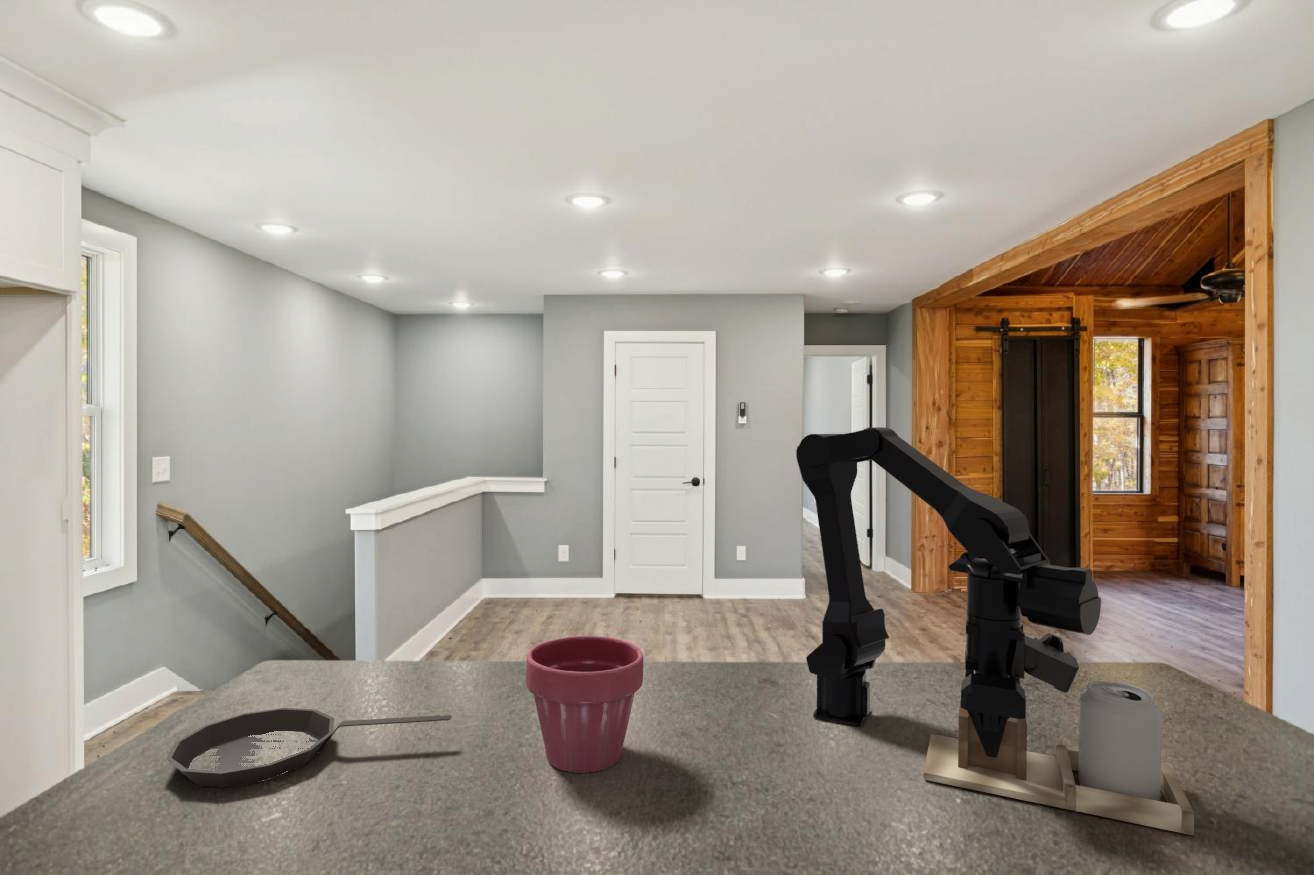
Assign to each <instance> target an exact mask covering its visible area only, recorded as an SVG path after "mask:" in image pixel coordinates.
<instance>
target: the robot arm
mask: <svg viewBox="0 0 1314 875" xmlns="http://www.w3.org/2000/svg"><path fill="white" fill-rule="evenodd" d="M795 454H796V455H795V456H796V462H797V465H798V468H799V472H800V474H801V475H800V476H801V478H802V481H803V483H804V484H805V486H806V487H807V488H808V490H809V491H810V493H811V494H812V496H813V497H814V498H813V499H814V502H815V506H816V512H817V513H816V514H817V522H818V528H819V534H820V535H819V536H820V542H821V548H822V549H821V550H822V556H823V563H824V570H825V577H826V585H827V592H828V604H827V607H826V610H825V614H824V616H823V620H822V624H821V625H822V626H821V627H822V629H821V632H822V634H821V635H822V637H821V643H820V644H819V645H818V646H817V647H815V649H814V650H813V651H811V652H810V653H809V654H808V655H807V656H806V658H805V660H806V664H807V667H808V671H809V673H810V674H812V675H813V674H814V675H815V676H816V709H815V711H813V718H814V719H817V720H824V721H829V722H834V723H840V724H846V725H851V726H856V727H861V726H862V725H863V723H864V721H865V719H867V718H868V716H869V713H870V711H871V682H870V681H867V670H871V669H873V668H874V666H875V663H876V661H877V659H878V658H880V657H881V655H882V654H883V653H884V651H885V649H886V640H888V639H890V636H889V634H888V632H887V629H886V624H885V623H886V622H885V621H886V620H885V619H886V618H885V617H886V616H885V612H884V611H885V610H884V609H883V608H877V609H876V608H874V607H873V606H872V604H871V602H870V601H869V600H868V599H867V598H868V597H867V595H866V592H865V584H864V577H863V571H862V565H861V564H862V562H861V557H860V550H859V544H858V535H857V529H856V524H855V517H854V516H855V515H854V510H853V504H852V503H853V501H852V490H853V487H854V485H855V481H856V479H857V475H858V463H863V462H867V461H871V460H872V461H873V462H874V463H875V464H876V465H878V467H881V469H883V470H884V471H885V472H886V473H888V474H889V475H890V476H891V477H893V478H895V480H897V481H898V482H900V484H902V485H903V486H904V487H905V488H906V489H908V490H909V491H910V492H912V493H913V495H914V494H915V495H916V496H917V497H918V498H920V499H921V500H922V501H924V503H926V504H927V505H929V507H931V508H932V509H933V510H935V512H936V513H937V514H938V515H939V516H940V517H941V519H942V520H943V522H944V524H945V526H946V528H947V530H948V532H949V534H951V536H952V537H953V538H954V539H955V540H956V541H957V542H958V543H959V544H960V545H961V546H962V548H963V549H964V550H965V551H963V552H962V553H961V555H960V556H959V558H957V559H956V560H955V561H953V562H952V563H950V564H949V565H948V569H949V570H950V571H951V572H957V573H963V574H966V622H965V634H966V635H965V638H966V639H965V641H966V642H965V643H966V644H965V649H964V650H965V652H964V654H965V655H964V660H965V661H964V664H965V665H964V666H965V668H964V669H965V673H964V674H965V675H964V679H962V680H961V685H960V686H961V687H960V701H961V708H963V709H965V710H967V711H968V714H969V716H970V718H971V720H972V723H973V725H974V727H975V729H976V732H977V734H978V737H979V739H980V742H981V744H982V746H983V749H984V751H985V754H986V755H987V756H988V757H993V758H996V757H997V756H998V752H999V748H1000V745H1001V741H1002V737H1003V733H1004V730H1005V726H1006V723H1007V720H1008V719H1009V718H1016V719H1023V718H1026V719H1027V715H1026V714H1027V698H1026V690H1025V688H1024V687H1023V686H1022V685H1021V679H1023V680H1024V679H1025V673H1026V674H1027V675H1029V676H1031V677H1033V678H1035V679H1038V680H1040V681H1042V682H1044V683H1046V684H1048V685H1050V686H1053V688H1054V689H1055V690H1056V691H1057V690H1058V691H1059V692H1062V693H1069V691H1070V689H1071V687H1072V685H1073V681H1074V680H1075V677H1076V676H1077V674H1078V672H1079V669H1080V666H1079V663H1078V660H1077V659H1076V657H1075V656H1073V654H1072V653H1071V652H1069V651H1067V652H1065V648H1064V642H1063V639H1062V637H1060V636H1057V635H1055V634H1053V633H1050V632H1048V633H1047V634H1045V635H1044V636H1042V637H1040V638H1037V637H1034V638H1032V637H1030V636H1028V635H1025V631H1024V624H1022V617H1025V618H1026V619H1027V620H1028V621H1029V622H1030V623H1031V624H1034V625H1041V626H1045V627H1048V628H1053V629H1058V630H1062V631H1063V630H1064V631H1068V632H1073V633H1077V634H1082V635H1088V636H1090V635H1092V634H1093V633H1094V632H1095V630H1096V628H1097V626H1098V623H1099V620H1100V615H1101V607H1102V599H1101V596H1099V591H1098V587H1097V585H1096V583H1095V581H1094V580H1093V570H1092V569H1091V568H1084V567H1067V566H1061V565H1060V566H1059V565H1053V564H1052V565H1051V561H1050V559H1049V558H1048V556H1047V555H1046V554H1045V552H1044V550H1043V549H1042V548H1041V547H1040V545H1039V544H1038V542H1037V540H1035V537H1033V535H1032V534H1031V533H1030V532H1031V531H1030V525H1029V520H1028V518H1027V517H1026V515H1025V514H1024V513H1023V512H1022V511H1021V510H1020V509H1018V508H1017V507H1014V506H1013V505H1010V504H1008V503H1006V502H1004V501H1003V500H1000V498H997V497H994V496H992V495H989V494H986V493H984V492H981V491H978V490H975V489H973V488H971V487H969V486H967V485H965V484H963V483H962V482H961V481H960V480H958V479H957V478H956V477H954V476H953V475H952V474H950V473H949V472H947V471H946V470H944V469H943V468H942V467H940V466H939V465H938V464H937V463H935V462H934V461H932V460H931V459H930V458H928V457H927V456H926V455H925V454H923V453H921V452H920V451H919V450H917V448H915V447H913V446H912V445H911V444H909V443H908V442H906V441H905V440H904V439H903V438H901V437H900V436H899V435H898V434H897V432H896V431H894V429H892V428H889V427H881V426H880V427H876V426H875V427H874V426H873V427H866V428H864V429H862V430H858V431H853V432H847V433H809V434H808V435H806V436H805V437H803V438H802V439H801V441H800V442H799V444H798V445H797V446H796V453H795ZM1013 554H1016V556H1014V555H1013Z"/></svg>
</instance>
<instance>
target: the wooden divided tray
mask: <svg viewBox="0 0 1314 875" xmlns="http://www.w3.org/2000/svg"><path fill="white" fill-rule="evenodd" d="M958 711H959V712H958V730H957V731H958V737H956V738H955V737H950V736H949V737H948V736H944V735H939V734H933V733H931V734H930V738H929V742H928V748H927V752H926V758H925V763H924V769H923V780H924V781H929V782H934V783H939V784H944V785H950V786H954V787H958V788H964V789H969V790H972V791H978V792H983V793H988V794H992V795H997V796H1002V797H1007V798H1011V799H1016V800H1021V801H1026V802H1031V803H1034V804H1042V805H1045V806H1048V807H1055V808H1059V809H1064V810H1068V811H1074V812H1080V813H1083V814H1089V815H1094V816H1099V817H1103V818H1109V819H1112V820H1117V821H1123V822H1125V823H1131V824H1136V825H1142V826H1146V827H1151V828H1155V829H1156V828H1157V829H1161V830H1165V831H1171V832H1174V833H1175V832H1176V833H1180V834H1184V835H1189V836H1194V831H1195V811H1194V809H1193V807H1192V806H1191V804H1190V802H1189V800H1188V798H1187V796H1186V795H1185V792H1184V790H1183V789H1182V787H1181V785H1180V783H1179V782H1178V779H1177V777H1176V776H1175V774H1174V772H1173V769H1172V768H1171V765H1170V764H1169V763H1166V762H1161V792H1162V795H1163V797H1164V799H1165V801H1166V802H1165V801H1161V800H1160V801H1156V800H1151V799H1145V798H1140V797H1135V796H1130V795H1125V794H1120V793H1114V792H1109V791H1104V790H1099V789H1094V788H1089V787H1084V786H1080V785H1077V784H1076V782H1075V777H1074V774H1073V771H1076V772H1079V747H1074V746H1070V745H1069V746H1068V745H1063V744H1058V743H1056V746H1055V747H1056V749H1055V752H1056V753H1055V755H1056V756H1055V755H1049V754H1042V753H1038V752H1033V751H1029V750H1028V749H1027V748H1028V723H1027V717H1026V718H1023V719H1016V718H1009V719H1008V720H1007V723H1006V726H1005V730H1004V733H1003V737H1002V741H1001V745H1000V748H999V752H998V756H997V757H996V758H993V757H988V756H987V755H986V754H985V751H984V749H983V746H982V744H981V742H980V739H979V737H978V734H977V732H976V729H975V727H974V725H973V723H972V720H971V718H970V716H969V714H968V711H967V710H965V709H963V708H961V700H960V702H959V710H958Z"/></svg>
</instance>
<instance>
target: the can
mask: <svg viewBox="0 0 1314 875" xmlns="http://www.w3.org/2000/svg"><path fill="white" fill-rule="evenodd" d="M1085 687H1086V689H1087V690H1086V691H1084V692H1083V693H1082V694H1080V696H1079V715H1078V716H1079V717H1078V721H1079V722H1078V724H1079V725H1078V748H1079V771H1078V772H1077V773H1078V776H1077V777H1078V784H1079V786H1084V787H1089V788H1094V789H1099V790H1104V791H1109V792H1114V793H1120V794H1125V795H1130V796H1135V797H1140V798H1145V799H1151V800H1156V801H1161V792H1162V791H1161V763H1162V737H1163V736H1162V733H1163V732H1162V731H1163V711H1162V709H1160V708H1159V707H1158V705H1157V704H1156V703H1155V699H1156V697H1155V695H1154V694H1153V693H1152V692H1151V691H1149V690H1147V689H1146V688H1142V687H1140V686H1137V685H1134V684H1130V683H1126V682H1121V681H1116V680H1115V681H1114V680H1093V681H1090V682H1088V683H1087V684H1086V686H1085Z"/></svg>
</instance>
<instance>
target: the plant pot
mask: <svg viewBox="0 0 1314 875" xmlns="http://www.w3.org/2000/svg"><path fill="white" fill-rule="evenodd" d="M525 664H526V665H525V666H526V667H525V685H526V688H527V690H528V691H529V692H530V693H531V694H533V696H534V697H533V698H534V701H535V706H536V712H537V716H538V721H539V726H540V730H541V731H540V732H541V735H542V740H543V745H544V750H545V756H546V759H547V762H548V763H549V764H550V765H551V766H552V765H553V766H552V767H554V768H556V769H558V770H560V771H562V772H563V771H564V772H566V771H568V772H567V773H572V772H574V773H573V774H589V772H591V773H594V772H595V773H596V771H597V772H600V771H603V770H606V769H608V768H611V767H612V766H613V765H615V764H616V763H618V761H619V760H620V758H621V755H622V752H623V747H624V743H625V739H626V734H627V732H628V731H627V730H628V726H629V722H630V717H631V712H632V707H633V702H634V697H635V694H636V692H638V691H639V689H641V687H642V686H643V681H644V654H643V651H642V649H641V648H640V647H639V646H637V645H635V644H633V643H632V642H629V641H626V640H623V639H619V638H615V637H609V636H599V635H580V636H579V635H578V636H577V635H576V636H566V637H560V638H554V639H551V640H547V641H544V642H541V643H538V644H537V645H535V646H533V647H531V648H530V649H529V650H528V652H527V654H526V662H525Z"/></svg>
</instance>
